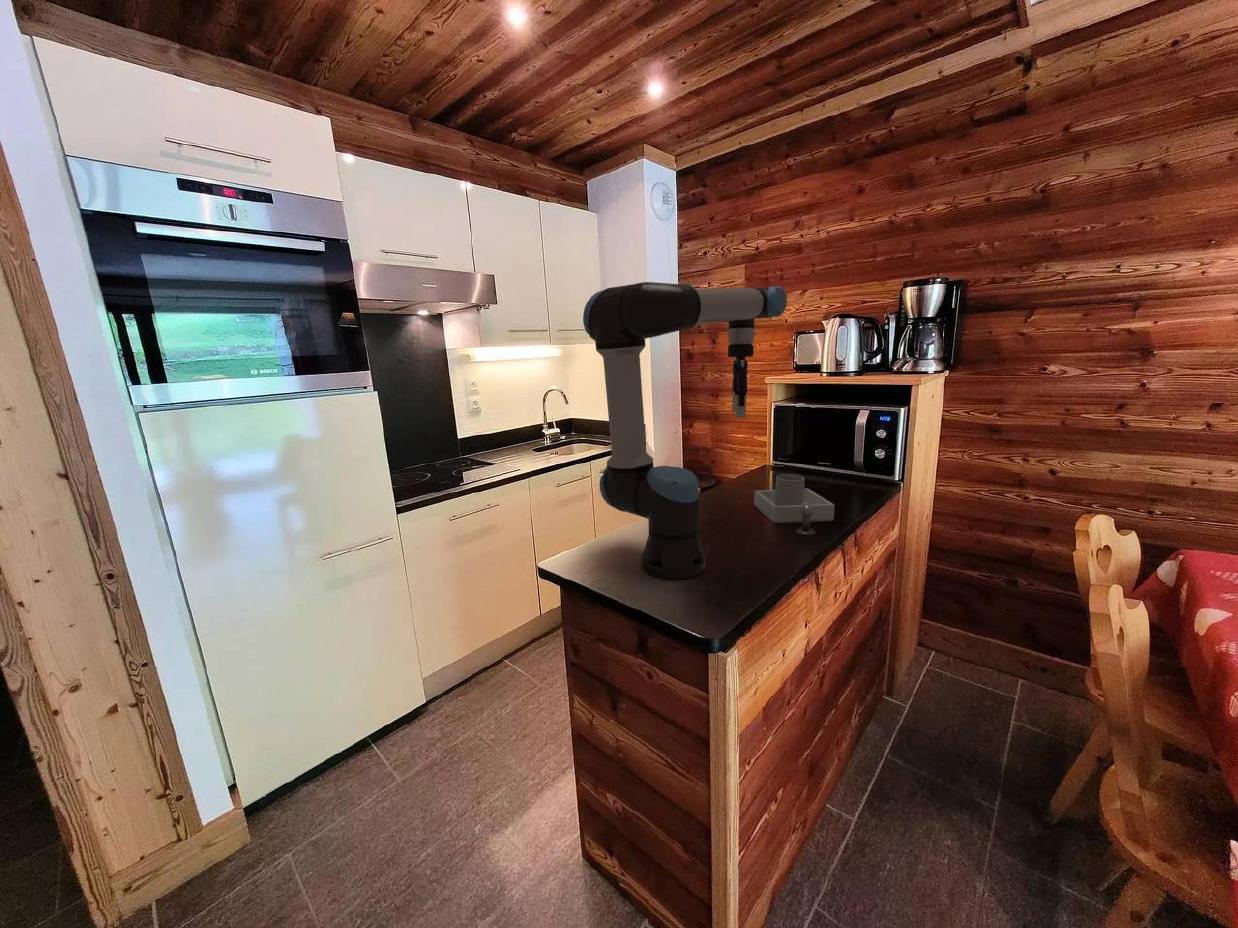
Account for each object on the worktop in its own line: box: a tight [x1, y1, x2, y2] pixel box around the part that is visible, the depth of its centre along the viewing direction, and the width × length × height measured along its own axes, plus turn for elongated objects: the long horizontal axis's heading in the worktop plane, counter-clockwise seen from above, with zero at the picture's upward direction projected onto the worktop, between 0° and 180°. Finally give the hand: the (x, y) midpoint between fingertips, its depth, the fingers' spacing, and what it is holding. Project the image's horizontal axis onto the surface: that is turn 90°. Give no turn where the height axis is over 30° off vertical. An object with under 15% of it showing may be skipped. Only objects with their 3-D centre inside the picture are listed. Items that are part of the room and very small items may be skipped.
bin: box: [753, 488, 836, 524], centre depth 150 cm, size 18×18×5 cm
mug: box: [774, 473, 806, 506], centre depth 150 cm, size 12×8×11 cm
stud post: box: [795, 504, 816, 536], centre depth 133 cm, size 5×5×8 cm
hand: (738, 414), depth 147 cm, fingers open, 13 cm apart
